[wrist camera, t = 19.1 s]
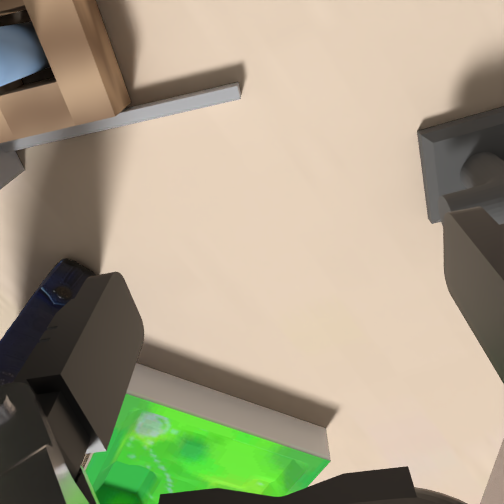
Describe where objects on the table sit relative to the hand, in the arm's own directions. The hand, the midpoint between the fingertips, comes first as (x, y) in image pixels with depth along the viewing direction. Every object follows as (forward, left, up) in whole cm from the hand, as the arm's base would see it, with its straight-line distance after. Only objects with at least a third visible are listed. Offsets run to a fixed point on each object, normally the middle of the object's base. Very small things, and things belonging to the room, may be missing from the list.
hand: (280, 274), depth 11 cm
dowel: (-6, -16, -28) cm, 33 cm away
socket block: (-6, -17, -28) cm, 33 cm away
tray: (+44, -19, -29) cm, 56 cm away
